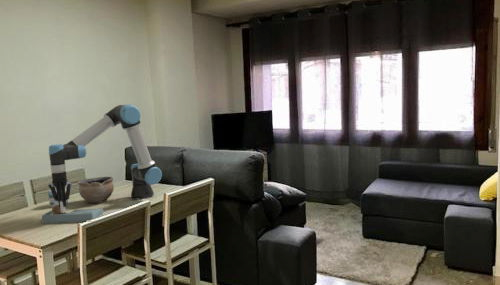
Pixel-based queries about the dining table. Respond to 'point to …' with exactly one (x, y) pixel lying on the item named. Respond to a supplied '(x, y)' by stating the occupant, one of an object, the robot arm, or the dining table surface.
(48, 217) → the box
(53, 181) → the robot arm
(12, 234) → the dining table surface
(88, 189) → the ceramic bowl
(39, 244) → the dining table surface
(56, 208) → the walnut block
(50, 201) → the white toy van
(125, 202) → the dining table surface
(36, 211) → the dining table surface
